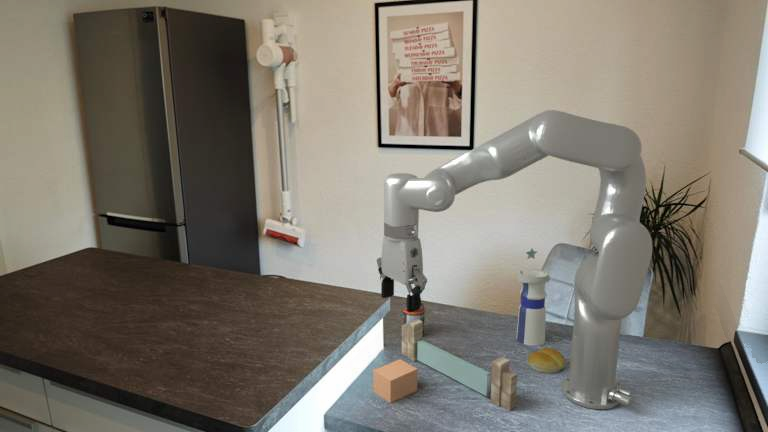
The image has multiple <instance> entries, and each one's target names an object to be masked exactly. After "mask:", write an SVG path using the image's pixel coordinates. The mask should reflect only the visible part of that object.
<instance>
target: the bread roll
mask: <svg viewBox="0 0 768 432" xmlns="http://www.w3.org/2000/svg"><path fill="white" fill-rule="evenodd" d="M526 360H527V363H528V364H527V365H529V367H530V369H532V370H534V371H537V372H539V373H544V374H556V373H558V372H560V371H562V370H564V369H565V367H566V365H567V362H566V359H565V357H564V355H563V354H562V353H561V352H560V351H558V350H557V349H555V348H553V347H544V348H541V349H539V350H538V351H533V352H531V353H530V354H529V355H528V356H527V359H526Z"/></svg>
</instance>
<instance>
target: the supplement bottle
mask: <svg viewBox="0 0 768 432" xmlns="http://www.w3.org/2000/svg"><path fill="white" fill-rule="evenodd" d="M405 302H406V303H404V304H403V307H402V325H404V324H407V323H408V322H410V321H412V320H415V319H418V320H420V321H422V322H423V330H422V337H423V336H424V335H425V306H424V304H423V303H422V297H421V296H420V309H419V310H417V311H413V312H407V299H406V301H405Z"/></svg>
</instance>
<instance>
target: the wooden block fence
mask: <svg viewBox="0 0 768 432" xmlns="http://www.w3.org/2000/svg"><path fill="white" fill-rule="evenodd" d="M422 330H423V322H422V321H420V320H418V319H415V320H412V321H410V322H408V323H407V324H404V325H403V324H402V325H401V354H402V355H403V356H405V357H407V359H408V360H409V361H412V362H416V361H418V360H417V342H418V341H420V340H423V336H422ZM491 362H492V363H491V364H492V366H491V374H492V381H491V398H490V403H491V404H493V405H494V404H495V406H496V407H497V408H498V407H500V408H503V409H504V410H507V411H508V412H510V411H512V410H514V409H516V403H517V402H516V400H517V385H518V373H516V372H514V371H512V370H510V360H509V359H508V358H506V357H503V356H499V357H497V358H495V359H493V360H492V361H491Z"/></svg>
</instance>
